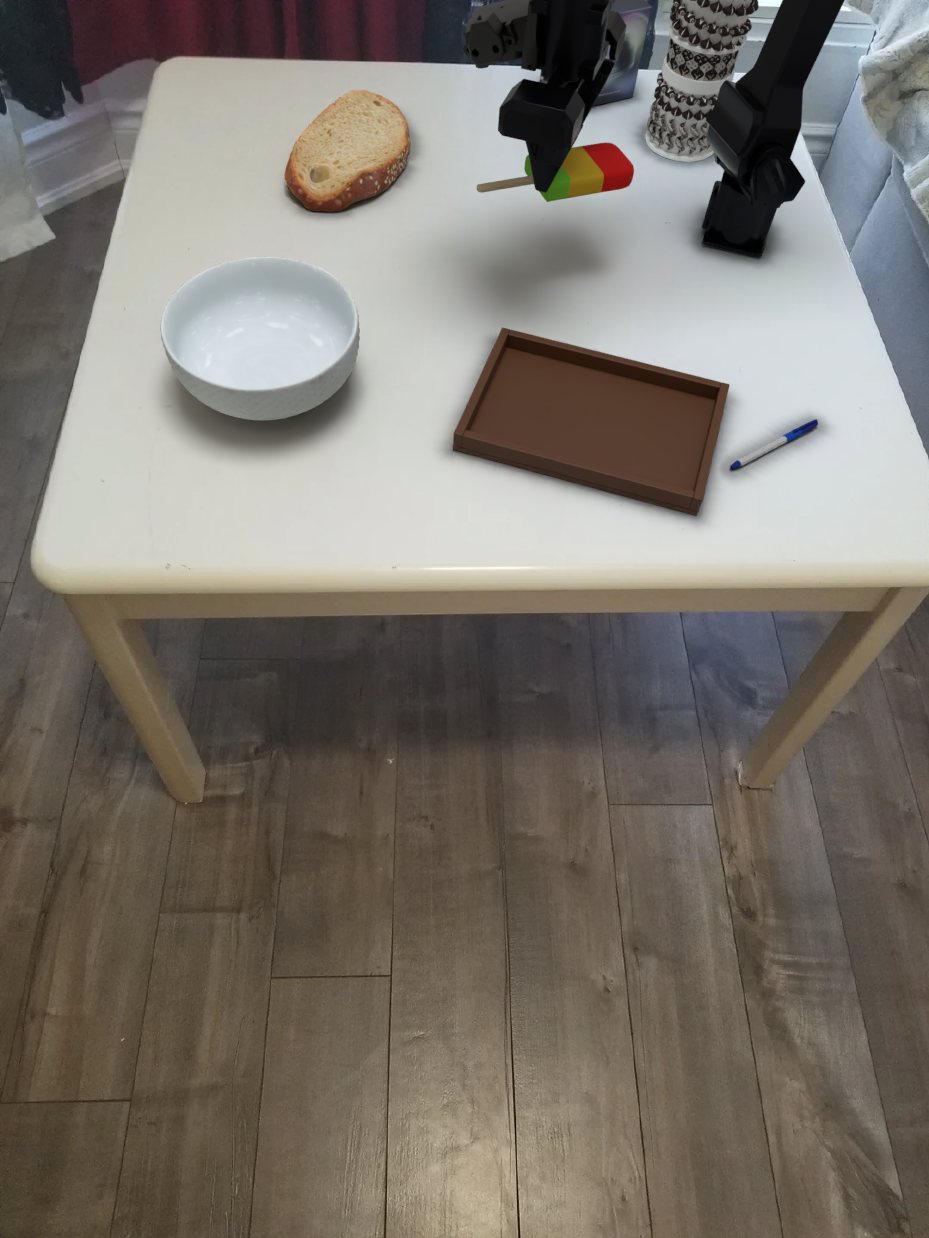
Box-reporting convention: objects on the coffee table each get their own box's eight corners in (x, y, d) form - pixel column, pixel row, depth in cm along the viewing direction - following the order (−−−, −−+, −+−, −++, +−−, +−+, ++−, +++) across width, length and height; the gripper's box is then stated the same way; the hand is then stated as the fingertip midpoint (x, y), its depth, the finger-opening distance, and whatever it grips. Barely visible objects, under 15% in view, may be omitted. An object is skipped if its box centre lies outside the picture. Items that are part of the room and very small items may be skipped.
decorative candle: (685, 113, 112) (748, -141, 91) (735, 151, 108) (813, -105, 87) (626, 132, 109) (676, -126, 88) (674, 171, 105) (740, -89, 84)
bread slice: (379, 100, 110) (378, 68, 107) (456, 177, 102) (457, 144, 99) (240, 137, 104) (235, 104, 101) (310, 222, 96) (306, 189, 93)
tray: (723, 400, 84) (729, 384, 83) (696, 515, 77) (702, 500, 75) (500, 344, 87) (502, 327, 86) (452, 449, 80) (453, 433, 78)
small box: (562, 116, 110) (575, 21, 101) (536, 90, 113) (546, -5, 104) (636, 98, 113) (654, 4, 104) (607, 73, 116) (623, -20, 107)
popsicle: (636, 188, 86) (640, 169, 84) (487, 214, 82) (489, 195, 81) (610, 158, 88) (613, 138, 87) (465, 182, 85) (466, 162, 83)
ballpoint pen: (810, 421, 84) (814, 413, 83) (817, 427, 83) (822, 419, 82) (728, 468, 80) (731, 460, 79) (735, 474, 80) (738, 466, 79)
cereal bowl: (159, 341, 85) (140, 276, 79) (330, 304, 89) (324, 239, 83) (201, 469, 77) (183, 407, 71) (388, 422, 81) (386, 360, 75)
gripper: (515, -87, 77) (501, 101, 90) (439, 9, 68) (436, 204, 81) (643, -62, 76) (609, 126, 89) (584, 40, 66) (556, 234, 79)
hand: (552, 169), depth 84 cm, fingers closed on popsicle, 7 cm apart
